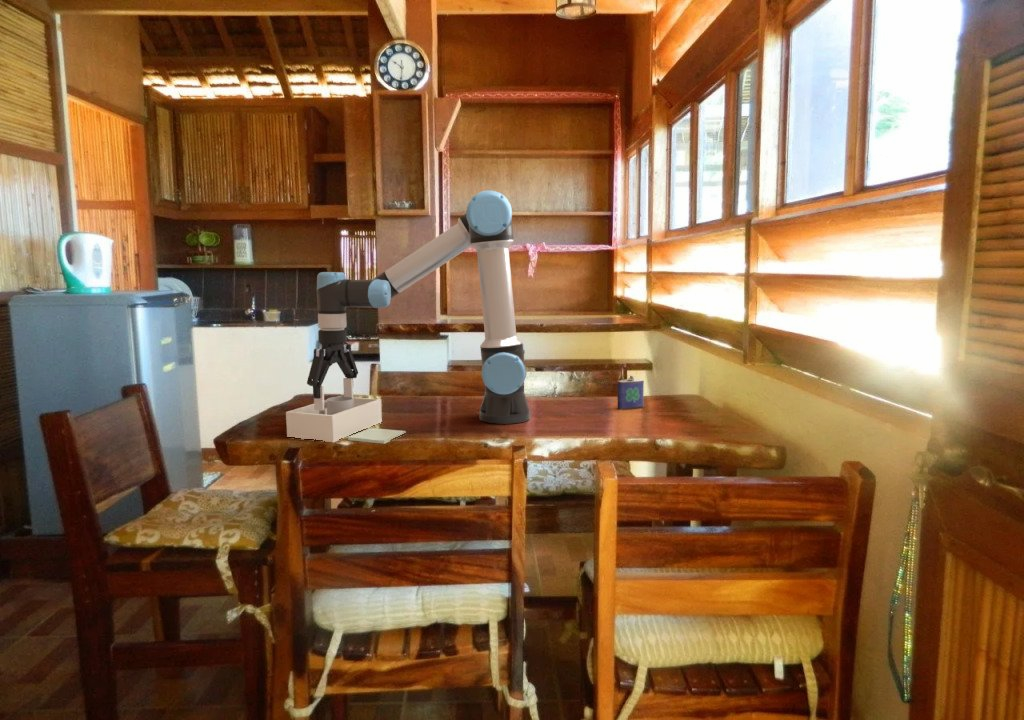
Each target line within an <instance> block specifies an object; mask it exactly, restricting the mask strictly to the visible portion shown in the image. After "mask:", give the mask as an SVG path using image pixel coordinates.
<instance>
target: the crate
mask: <svg viewBox="0 0 1024 720" xmlns="http://www.w3.org/2000/svg"><path fill="white" fill-rule="evenodd" d="M340 396H341V395H338V396H336V397H340ZM324 402H327V399H324ZM353 402H354V408H351V409H348V410H345V411H342V412H339V413H336V414H333V415H327V407H326V408H325V415H324V414H319V410H314V403H311V404H308V405H305V406H302V407H297V408H295V409H291V410H288V411H286V412H285V420H286V421H285V423H286V438H287V437H295V438H301V439H300V440H304V439H314V440H315V439H316V440H323V441H322V442H324V441H325V442H326V443H336V442H338V441H340V440H339V439H341V438H343V439H345V438H344V437H346V436H348V437H350V436H349V435H351V434H353V433H356V432H358V431H361V430H363V429H366V428H368V427H371V426H373V425H375V426H377V425H376V424H378V423H380V424H382V423H381V422H383V420H382V416H383V415H382V412H383V411H382V399H381V398H369V397H367V398H366V397H356V396H355V397H354V396H353ZM378 425H379V424H378ZM373 427H374V426H373ZM371 428H372V427H371ZM368 429H369V428H368ZM366 430H367V429H366ZM363 431H364V430H363ZM361 432H362V431H361ZM358 433H359V432H358ZM356 434H357V433H356ZM353 435H354V434H353ZM351 436H352V435H351ZM346 438H347V437H346ZM314 440H313V441H314ZM341 440H342V439H341Z"/></svg>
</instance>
